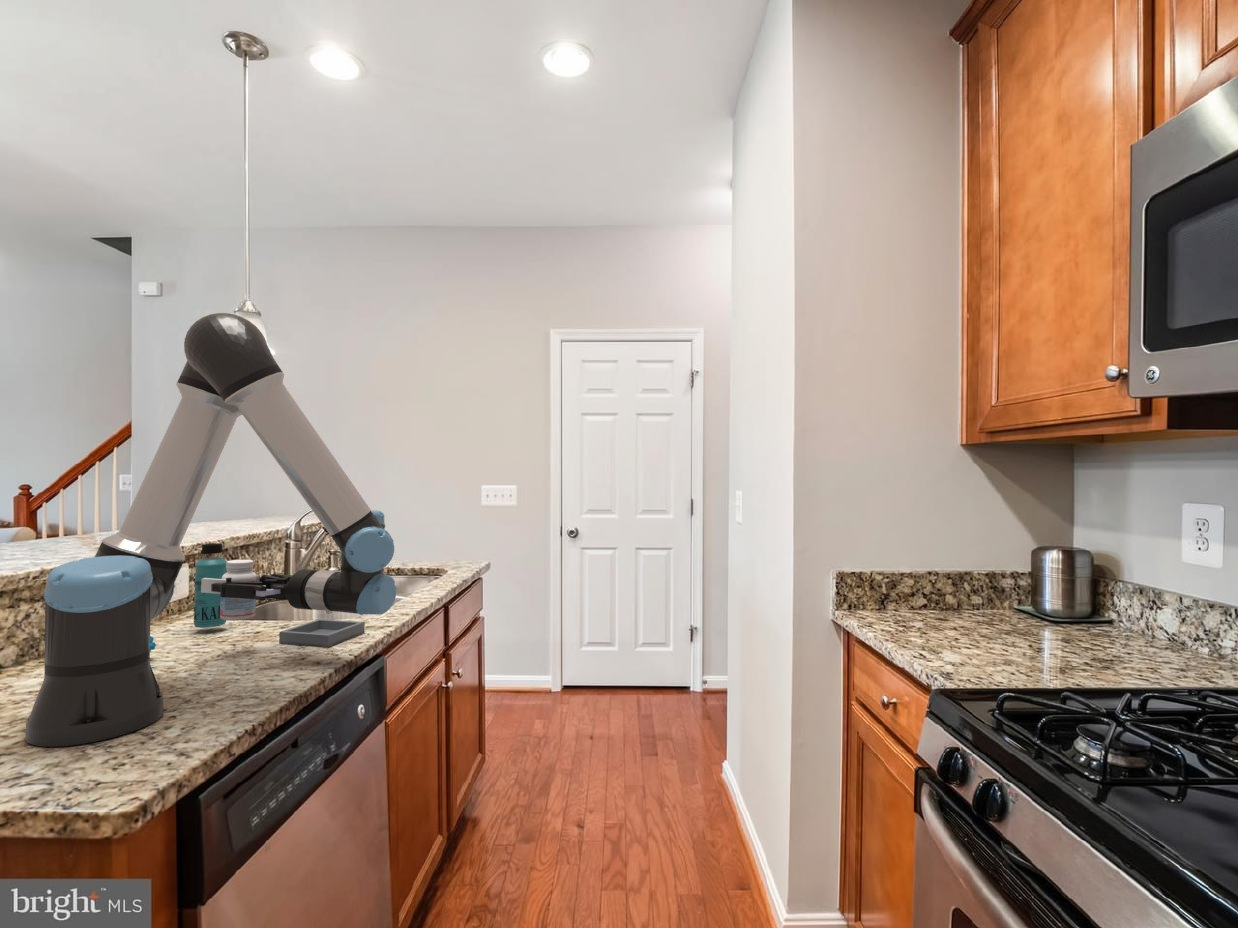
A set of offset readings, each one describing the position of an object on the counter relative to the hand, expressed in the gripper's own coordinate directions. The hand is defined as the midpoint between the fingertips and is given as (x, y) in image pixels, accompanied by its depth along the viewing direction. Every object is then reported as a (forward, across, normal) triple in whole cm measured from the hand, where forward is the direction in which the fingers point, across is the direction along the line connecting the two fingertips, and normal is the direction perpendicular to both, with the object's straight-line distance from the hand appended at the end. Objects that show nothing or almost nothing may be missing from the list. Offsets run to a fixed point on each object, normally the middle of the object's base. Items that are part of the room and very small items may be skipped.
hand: (217, 582), depth 125 cm
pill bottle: (-5, 0, -7) cm, 9 cm away
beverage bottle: (+16, +14, -14) cm, 26 cm away
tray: (-13, +15, -14) cm, 24 cm away
